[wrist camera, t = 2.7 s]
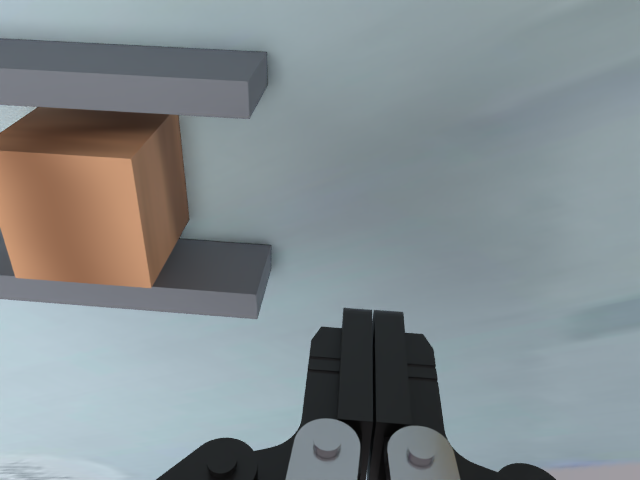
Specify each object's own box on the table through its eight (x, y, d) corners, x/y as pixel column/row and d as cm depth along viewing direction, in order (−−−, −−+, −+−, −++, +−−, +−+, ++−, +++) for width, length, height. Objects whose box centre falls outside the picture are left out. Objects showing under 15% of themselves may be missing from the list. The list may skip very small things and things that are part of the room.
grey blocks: (266, 52, 21) (247, 81, 18) (271, 268, 26) (257, 319, 23) (-158, 30, 22) (-242, 55, 19) (-75, 243, 27) (-131, 288, 24)
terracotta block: (178, 105, 22) (130, 158, 18) (189, 218, 25) (151, 288, 21) (51, 98, 23) (-25, 148, 18) (76, 210, 25) (15, 277, 21)
